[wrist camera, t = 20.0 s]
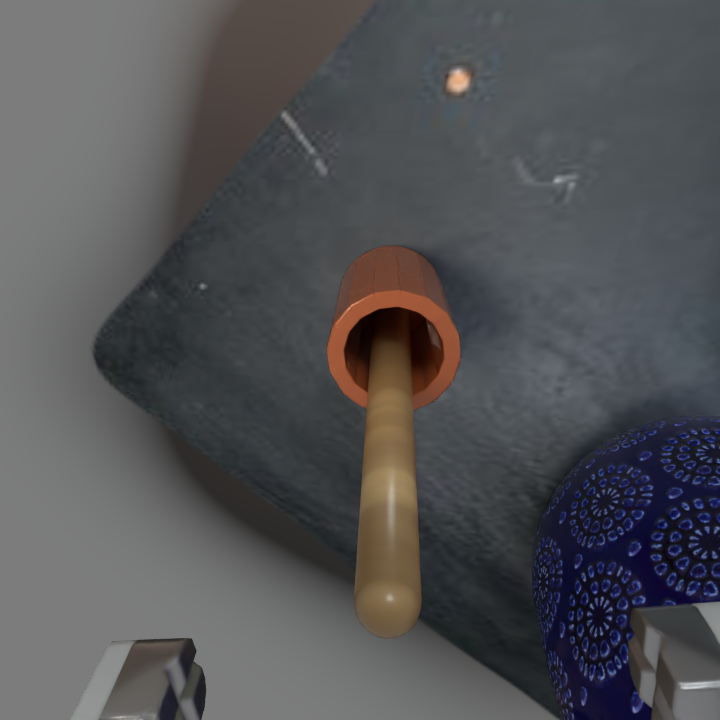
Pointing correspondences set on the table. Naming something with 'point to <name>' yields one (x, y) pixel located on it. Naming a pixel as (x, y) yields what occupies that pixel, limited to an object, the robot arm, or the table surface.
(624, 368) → the table surface
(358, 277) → the crock
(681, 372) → the table surface
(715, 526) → the planter
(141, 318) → the table surface
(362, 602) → the stick
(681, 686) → the robot arm
